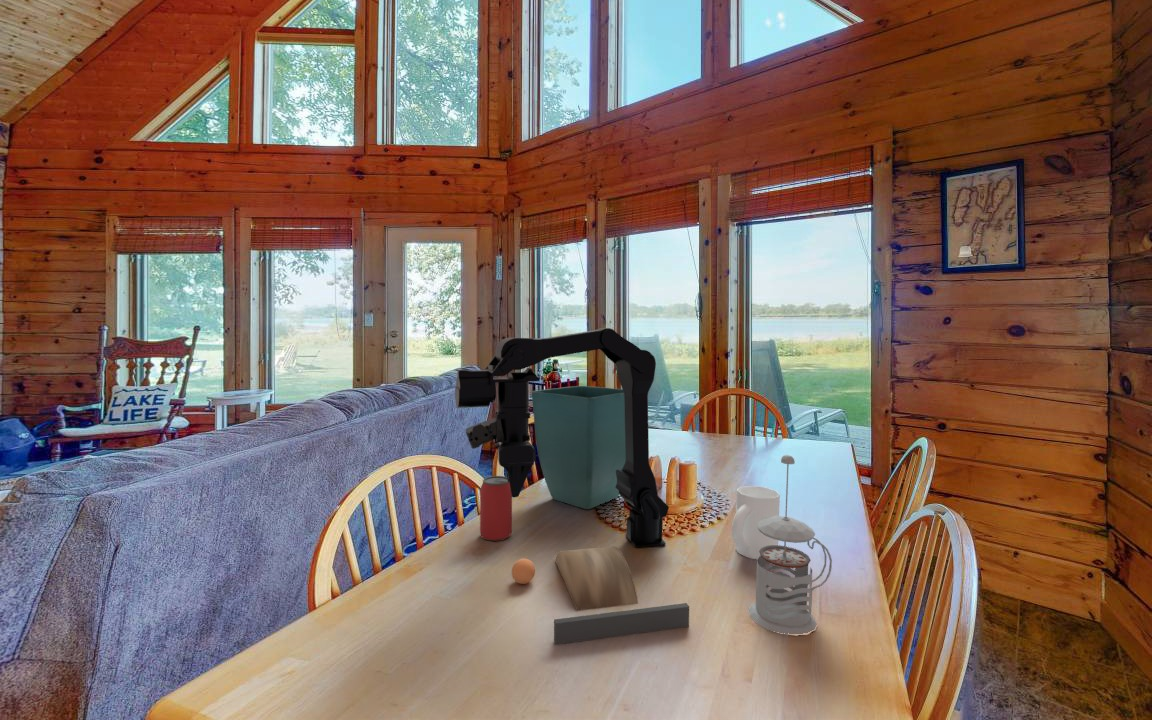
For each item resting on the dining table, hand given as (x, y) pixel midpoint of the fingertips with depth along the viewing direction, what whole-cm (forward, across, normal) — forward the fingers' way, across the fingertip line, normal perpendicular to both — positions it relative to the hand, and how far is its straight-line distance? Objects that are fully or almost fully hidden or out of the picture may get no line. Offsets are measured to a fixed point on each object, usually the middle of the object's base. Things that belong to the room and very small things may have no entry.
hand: (512, 489), depth 93 cm
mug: (+14, +5, +46) cm, 49 cm away
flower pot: (+14, -32, +21) cm, 41 cm away
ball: (+12, +8, +1) cm, 15 cm away
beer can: (+14, -12, -2) cm, 19 cm away
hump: (+31, +10, +13) cm, 35 cm away
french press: (+14, +27, +40) cm, 50 cm away
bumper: (+14, +26, +14) cm, 32 cm away
